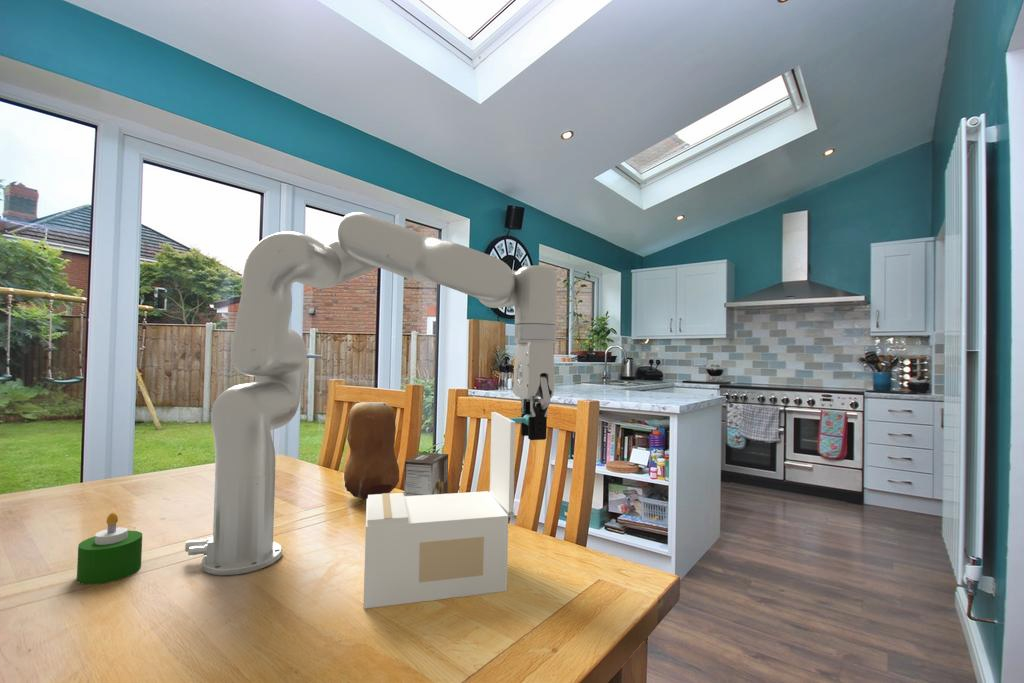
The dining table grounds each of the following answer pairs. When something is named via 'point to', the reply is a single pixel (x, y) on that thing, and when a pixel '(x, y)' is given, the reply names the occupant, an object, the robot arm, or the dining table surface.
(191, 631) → the dining table surface
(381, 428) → the butternut squash
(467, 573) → the carton
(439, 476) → the coffee box
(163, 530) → the dining table surface
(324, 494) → the dining table surface
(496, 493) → the flap
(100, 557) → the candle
